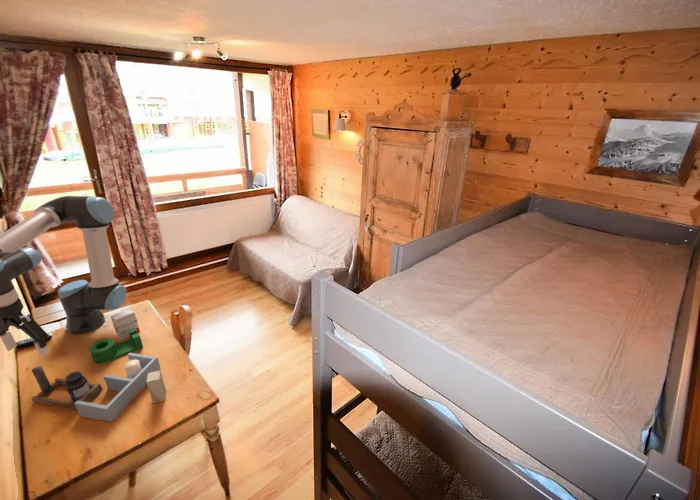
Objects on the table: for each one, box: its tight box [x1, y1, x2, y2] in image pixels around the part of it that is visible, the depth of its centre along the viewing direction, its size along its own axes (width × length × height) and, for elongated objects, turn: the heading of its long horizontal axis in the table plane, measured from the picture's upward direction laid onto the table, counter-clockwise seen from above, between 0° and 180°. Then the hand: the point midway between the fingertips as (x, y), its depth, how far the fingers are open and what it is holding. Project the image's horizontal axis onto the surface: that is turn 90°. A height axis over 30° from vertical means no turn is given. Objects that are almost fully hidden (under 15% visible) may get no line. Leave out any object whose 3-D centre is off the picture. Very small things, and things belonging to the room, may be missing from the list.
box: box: [146, 369, 167, 404], centre depth 123 cm, size 5×4×11 cm
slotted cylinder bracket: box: [88, 328, 144, 365], centre depth 145 cm, size 18×9×6 cm, turn 135°
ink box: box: [110, 308, 141, 341], centre depth 155 cm, size 9×5×12 cm, turn 141°
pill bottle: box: [64, 371, 90, 403], centre depth 121 cm, size 6×6×11 cm
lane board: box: [74, 352, 161, 423], centre depth 126 cm, size 26×13×6 cm, turn 171°
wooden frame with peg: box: [31, 365, 103, 411], centre depth 122 cm, size 10×20×12 cm, turn 81°
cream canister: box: [124, 360, 143, 379], centre depth 131 cm, size 5×5×8 cm
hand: (28, 350), depth 117 cm, fingers open, 13 cm apart
